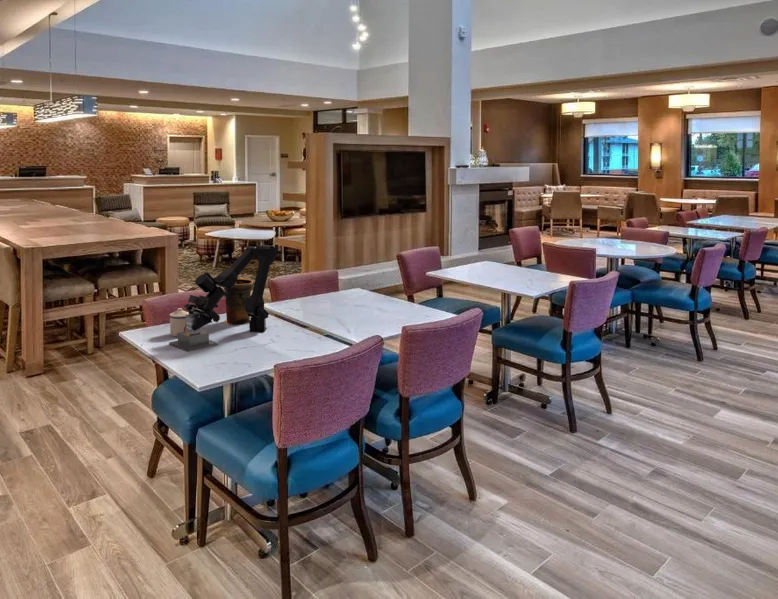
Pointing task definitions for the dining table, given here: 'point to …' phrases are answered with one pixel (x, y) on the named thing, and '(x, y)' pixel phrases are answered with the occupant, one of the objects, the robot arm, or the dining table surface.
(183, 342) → the stand base
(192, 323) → the column
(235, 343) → the dining table surface
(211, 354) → the dining table surface
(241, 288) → the vessel
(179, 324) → the teacup with lid
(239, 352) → the dining table surface
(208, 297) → the robot arm
